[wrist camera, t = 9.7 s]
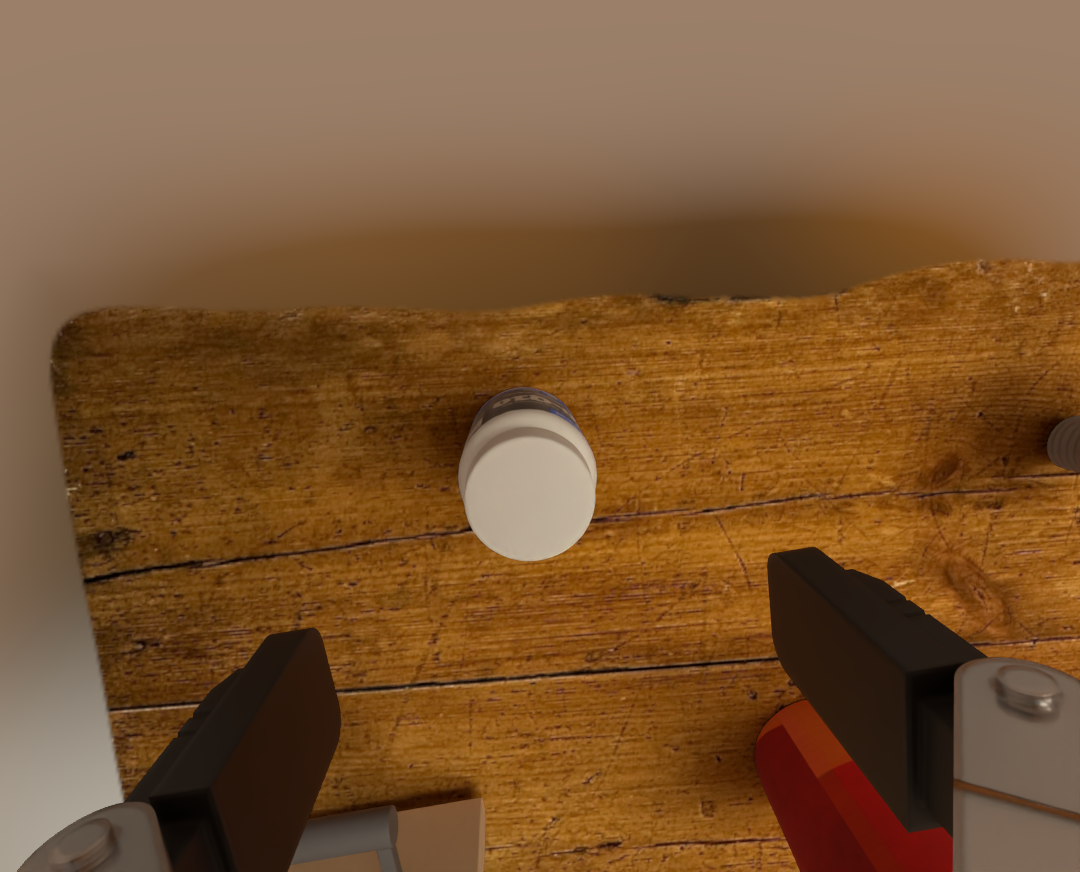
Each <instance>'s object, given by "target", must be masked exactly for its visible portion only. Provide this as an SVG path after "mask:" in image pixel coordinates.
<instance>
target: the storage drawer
mask: <svg viewBox="0 0 1080 872" xmlns="http://www.w3.org/2000/svg"><path fill="white" fill-rule="evenodd" d="M485 828H486V815H485V810H484V805H483V800H482V798H475V799H469V800H463V801H458V802H452V803H446V804H440V805H434V806H428V807H423V808H417V809H411V810H405V811H399V812H397V810H396V808H395V806H394V805H388V806H382V807H376V808H370V809H364V810H358V811H353V812H347V813H341V814H335V815H329V816H323V817H317V818H312V819H308V821H307V824H306V826H305V829H304V831H303V834H302V837H301V839H300V842H299V844H298V847H297V849H296V852H295V854H294V857H293V860H292V862H291V865H290V867H289V870H288V872H484V853H485Z"/></svg>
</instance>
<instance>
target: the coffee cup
mask: <svg viewBox="0 0 1080 872" xmlns="http://www.w3.org/2000/svg"><path fill="white" fill-rule="evenodd" d="M754 760H755V765H756V769H757V772H758V775H759V778H760V780H761V783H762V785H763V788H764V790H765V792H766V795H767V797H768V799H769V802H770V804H771V806H772V809H773V811H774V813H775V815H776V817H777V820H778V822H779V824H780V826H781V829H782V831H783V833H784V835H785V838H786V840H787V842H788V844H789V846H790V849H791V851H792V853H793V856H794V858H795V860H796V863H797V865H798V867H799V870H800V872H953V839H952V837H951V836H950V835H949V834H948V833H947V831H946V830H945V829H944V828H943V827H940V828H934V829H929V830H923V831H917V832H911V833H908V832H907V831H906V829H905V828H904V827H903V825H902V824H901V823H900V821H899V820H898V819H897V817H896V816H895V815H894V813H893V812H892V811H891V810H890V808H889V807H888V806H887V804H886V803H885V802H884V800H883V799H882V798H881V796H880V795H879V794H878V792H877V791H876V790H875V788H874V787H873V786H872V785H871V783H870V782H869V781H868V779H867V778H866V777H865V775H864V774H863V773H862V771H861V770H860V769H859V767H858V766H857V765H856V764H855V762H854V761H853V760H852V758H851V757H850V756H849V754H848V753H847V752H846V750H845V749H844V748H843V746H842V745H841V744H840V743H839V741H838V740H837V739H836V737H835V736H834V735H833V733H832V732H831V731H830V729H829V728H828V727H827V725H826V724H825V723H824V722H823V720H822V719H821V718H820V716H819V715H818V714H817V712H816V711H815V710H814V708H813V707H812V706H811V704H810V703H809V702H808V701H807V700H803V701H799V702H796V703H793V704H791V705H789V706H787V707H785V708H783V709H782V710H780V711H779V712H778V713H776V714H775V715H774V716H773V717H772V718H771V719H770V720H769V721H768V722H767V723H766V724H765V726H764V727H763V729H762V730H761V732H760V734H759V736H758V738H757V741H756V745H755V751H754Z"/></svg>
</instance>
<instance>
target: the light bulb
mask: <svg viewBox="0 0 1080 872" xmlns="http://www.w3.org/2000/svg"><path fill="white" fill-rule="evenodd" d="M1047 452H1048V456H1049V458H1050V460H1051V461H1052V462H1053V463H1054V464H1055V465H1056V466H1058V467H1061V468H1065V469H1067V470H1072V471H1075V472H1079V473H1080V416H1073V417H1070V418H1067V419H1065V420H1063V421H1062V422H1060V423H1059V424H1058V425H1057V426H1056V427H1055V428H1054V429H1053V431H1052V432H1051V434H1050V436H1049V439H1048V443H1047Z"/></svg>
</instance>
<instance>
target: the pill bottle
mask: <svg viewBox="0 0 1080 872" xmlns="http://www.w3.org/2000/svg"><path fill="white" fill-rule="evenodd" d="M596 480H597V472H596V462H595V458H594V456H593V452H592V450H591V448H590V446H589V444H588V442H587V440H586V439H585V437H584V435H583V434H582V432H581V430H580V428H579V426H578V424H577V423H576V421H575V419H574V417H573V415H572V414H571V412H570V411H569V409H568V408H567V407H566V406H565V405H564V404H563V403H562V402H561V401H560V400H559V399H557V398H556V397H555V396H553V395H551V394H549V393H547V392H545V391H542V390H539V389H535V388H528V387H519V388H512V389H509V390H506V391H503V392H501V393H499V394H497V395H496V396H494V397H493V398H491V399H490V400H489V401H487V402H486V403H485V404H484V405H483V406H482V408H481V409H480V410H479V412H478V413H477V415H476V417H475V419H474V421H473V424H472V426H471V429H470V432H469V435H468V438H467V441H466V443H465V446H464V450H463V453H462V456H461V459H460V463H459V471H458V481H459V489H460V493H461V497H462V500H463V502H464V507H465V512H466V516H467V519H468V522H469V524H470V526H471V528H472V530H473V531H474V533H475V534H476V535H477V537H478V538H479V539H480V540H481V541H482V542H483V543H484V544H485V545H486V546H487V547H489V548H490V549H491V550H493V551H495V552H496V553H498V554H500V555H502V556H505V557H507V558H511V559H515V560H521V561H537V560H543V559H547V558H551V557H553V556H556V555H558V554H560V553H562V552H564V551H565V550H567V549H568V548H570V547H571V546H572V545H574V544H575V543H576V542H577V541H578V540H579V539H580V537H581V536H582V535H583V534H584V532H585V531H586V529H587V527H588V525H589V523H590V521H591V518H592V515H593V512H594V507H595V489H596Z"/></svg>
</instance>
